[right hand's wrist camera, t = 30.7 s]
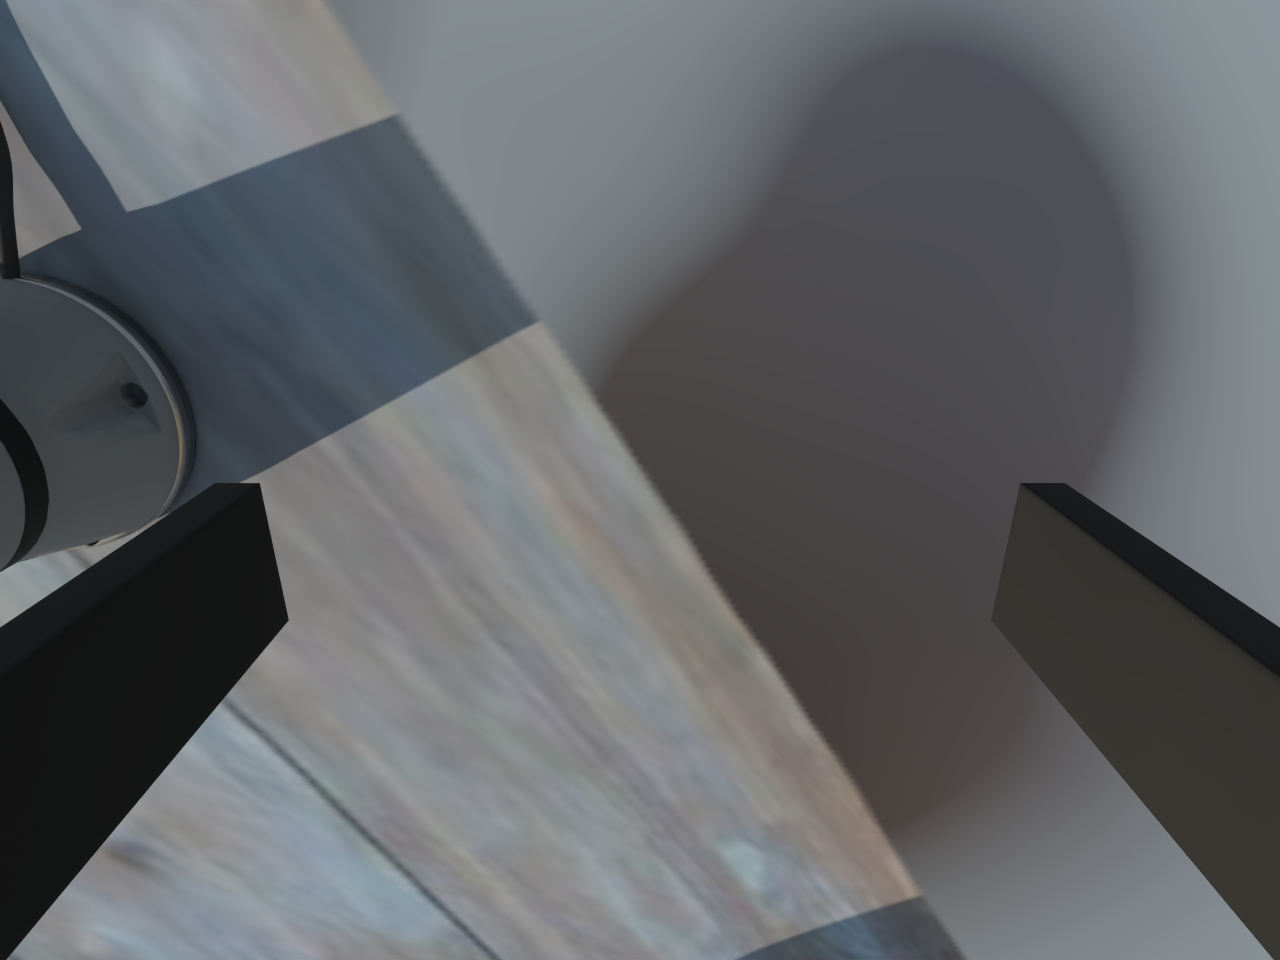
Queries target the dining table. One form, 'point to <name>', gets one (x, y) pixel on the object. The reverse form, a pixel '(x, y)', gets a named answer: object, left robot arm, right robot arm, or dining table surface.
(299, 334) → the dining table surface
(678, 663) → the dining table surface
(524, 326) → the dining table surface
